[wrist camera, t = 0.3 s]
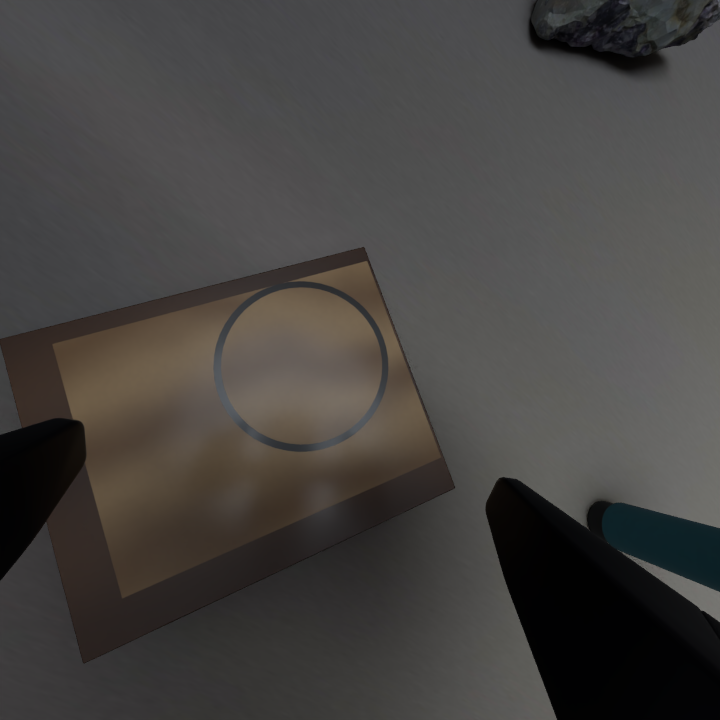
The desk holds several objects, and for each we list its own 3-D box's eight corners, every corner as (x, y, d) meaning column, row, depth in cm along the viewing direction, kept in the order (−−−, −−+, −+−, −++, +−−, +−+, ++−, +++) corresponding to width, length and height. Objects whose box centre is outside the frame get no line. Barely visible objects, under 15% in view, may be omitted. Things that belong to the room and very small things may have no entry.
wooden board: (452, 486, 20) (457, 488, 20) (88, 658, 16) (80, 667, 15) (363, 249, 22) (364, 245, 21) (5, 340, 17) (-5, 338, 17)
